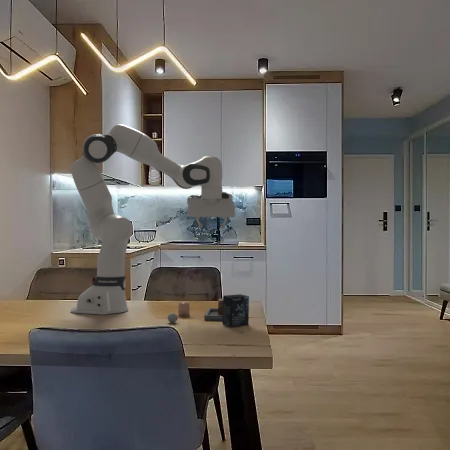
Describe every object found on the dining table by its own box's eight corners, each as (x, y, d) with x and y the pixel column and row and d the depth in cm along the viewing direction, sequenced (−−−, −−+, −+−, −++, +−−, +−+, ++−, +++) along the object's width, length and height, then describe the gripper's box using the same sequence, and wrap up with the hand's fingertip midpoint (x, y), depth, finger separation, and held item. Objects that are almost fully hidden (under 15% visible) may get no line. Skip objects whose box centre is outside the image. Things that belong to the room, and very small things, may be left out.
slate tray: (204, 320, 194) (204, 315, 194) (208, 312, 210) (208, 308, 210) (241, 321, 193) (241, 316, 193) (243, 313, 209) (243, 308, 209)
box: (231, 327, 181) (231, 297, 181) (222, 324, 186) (222, 295, 186) (249, 325, 186) (249, 295, 186) (240, 322, 190) (240, 293, 190)
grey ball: (166, 323, 187) (166, 313, 187) (168, 321, 190) (168, 311, 190) (176, 323, 186) (176, 313, 186) (178, 321, 190) (178, 312, 190)
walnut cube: (218, 316, 199) (218, 300, 199) (218, 313, 204) (219, 298, 204) (229, 316, 199) (229, 300, 199) (230, 314, 203) (230, 298, 203)
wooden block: (177, 316, 201) (177, 303, 201) (179, 314, 206) (179, 301, 205) (188, 316, 201) (188, 303, 201) (190, 314, 205) (190, 301, 205)
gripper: (186, 194, 216) (185, 227, 216) (235, 195, 214) (234, 228, 214) (188, 195, 222) (187, 227, 222) (235, 195, 221) (235, 228, 221)
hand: (211, 228), depth 218 cm, fingers open, 8 cm apart
